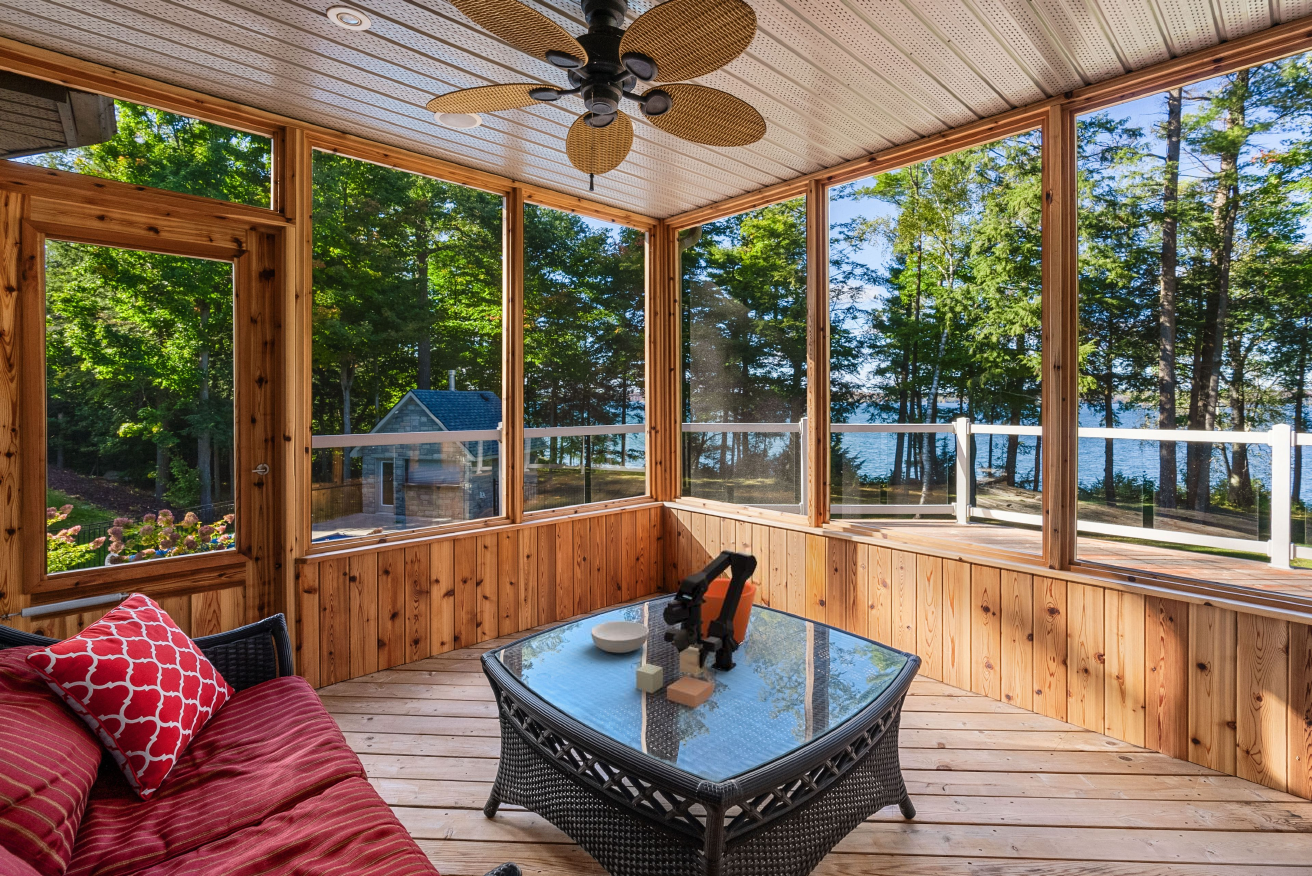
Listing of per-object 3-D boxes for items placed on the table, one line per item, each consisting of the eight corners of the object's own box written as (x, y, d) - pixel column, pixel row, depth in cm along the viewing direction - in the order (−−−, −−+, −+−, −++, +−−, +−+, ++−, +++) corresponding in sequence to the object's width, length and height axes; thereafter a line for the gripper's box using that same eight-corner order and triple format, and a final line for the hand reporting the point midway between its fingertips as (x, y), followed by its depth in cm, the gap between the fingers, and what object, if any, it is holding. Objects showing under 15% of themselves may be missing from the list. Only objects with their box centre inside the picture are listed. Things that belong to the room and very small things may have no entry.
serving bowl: (659, 644, 238) (659, 626, 238) (626, 664, 221) (626, 644, 220) (613, 634, 249) (613, 616, 249) (579, 651, 232) (579, 632, 231)
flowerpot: (691, 626, 258) (691, 577, 257) (755, 629, 254) (755, 579, 253) (686, 650, 233) (686, 595, 232) (756, 653, 229) (756, 598, 228)
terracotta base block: (685, 688, 203) (685, 675, 203) (712, 696, 197) (712, 683, 197) (667, 700, 195) (667, 687, 194) (695, 709, 189) (695, 695, 189)
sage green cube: (647, 681, 207) (647, 663, 206) (662, 686, 203) (662, 667, 203) (636, 688, 202) (636, 669, 201) (652, 693, 198) (652, 674, 198)
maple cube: (689, 664, 213) (689, 646, 213) (705, 668, 210) (705, 650, 209) (679, 670, 208) (679, 652, 208) (695, 675, 205) (695, 656, 204)
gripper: (654, 620, 206) (654, 668, 207) (705, 631, 196) (705, 681, 197) (672, 610, 216) (672, 656, 216) (722, 620, 205) (722, 669, 206)
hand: (692, 665), depth 209 cm, fingers closed on maple cube, 6 cm apart
